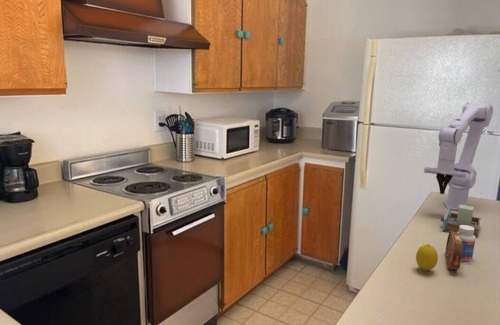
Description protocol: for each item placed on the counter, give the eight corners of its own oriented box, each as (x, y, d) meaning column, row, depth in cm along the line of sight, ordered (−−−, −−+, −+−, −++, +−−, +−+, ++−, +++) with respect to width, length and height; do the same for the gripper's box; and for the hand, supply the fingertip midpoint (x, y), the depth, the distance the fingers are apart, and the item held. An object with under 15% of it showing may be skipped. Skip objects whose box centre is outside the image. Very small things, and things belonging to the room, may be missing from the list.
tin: (444, 251, 123) (448, 226, 121) (455, 253, 122) (459, 227, 120) (448, 273, 110) (452, 246, 108) (460, 276, 108) (465, 248, 106)
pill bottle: (466, 263, 116) (470, 232, 114) (448, 256, 120) (452, 226, 118) (475, 258, 119) (480, 228, 117) (458, 251, 123) (462, 222, 121)
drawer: (443, 216, 152) (445, 206, 151) (477, 222, 146) (479, 212, 145) (438, 228, 140) (439, 218, 139) (474, 236, 134) (476, 225, 133)
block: (457, 222, 144) (459, 204, 142) (470, 225, 141) (473, 206, 140) (455, 226, 140) (458, 207, 139) (469, 229, 138) (472, 210, 136)
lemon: (411, 270, 111) (414, 244, 109) (419, 264, 115) (422, 238, 113) (431, 277, 107) (434, 250, 105) (438, 270, 111) (442, 244, 109)
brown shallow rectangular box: (449, 220, 150) (450, 212, 150) (479, 226, 145) (480, 218, 144) (444, 231, 140) (446, 223, 139) (477, 237, 134) (478, 229, 134)
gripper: (424, 158, 150) (420, 192, 153) (467, 163, 142) (462, 199, 145) (427, 155, 156) (423, 188, 159) (469, 160, 148) (463, 194, 151)
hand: (442, 193), depth 152 cm, fingers closed
